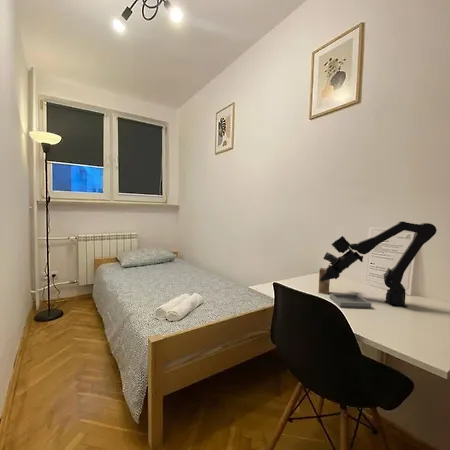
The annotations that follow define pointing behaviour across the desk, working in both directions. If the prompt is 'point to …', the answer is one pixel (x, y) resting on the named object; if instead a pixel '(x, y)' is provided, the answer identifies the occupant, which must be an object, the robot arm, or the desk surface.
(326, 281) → the block
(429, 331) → the desk surface
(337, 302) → the tray
